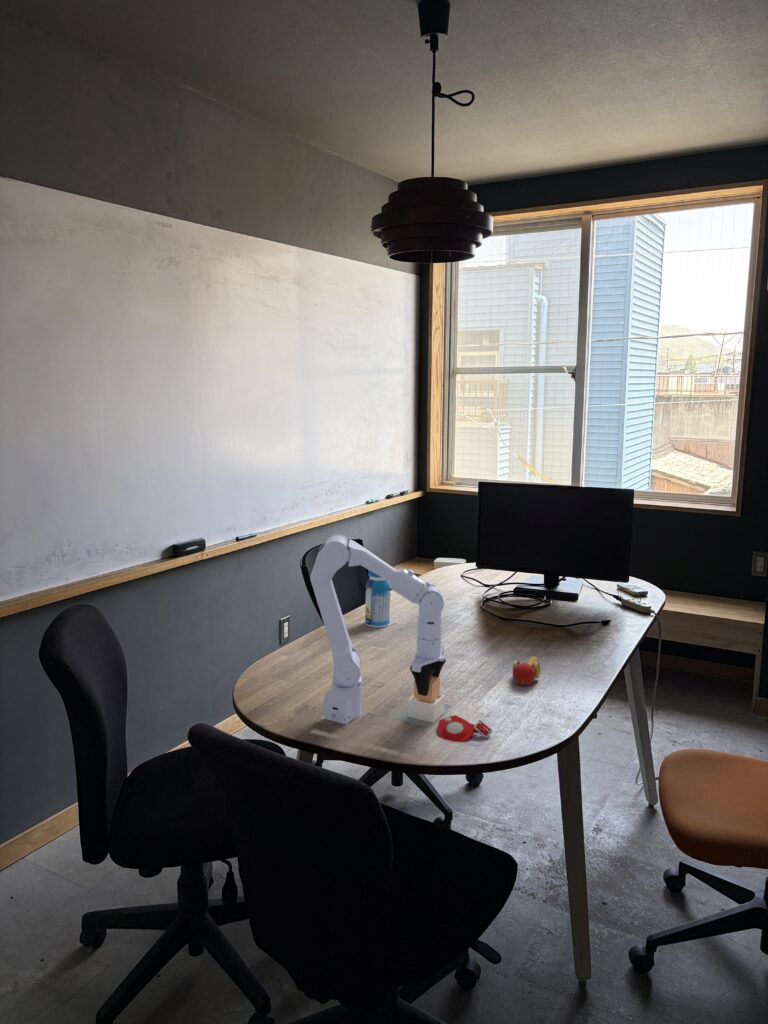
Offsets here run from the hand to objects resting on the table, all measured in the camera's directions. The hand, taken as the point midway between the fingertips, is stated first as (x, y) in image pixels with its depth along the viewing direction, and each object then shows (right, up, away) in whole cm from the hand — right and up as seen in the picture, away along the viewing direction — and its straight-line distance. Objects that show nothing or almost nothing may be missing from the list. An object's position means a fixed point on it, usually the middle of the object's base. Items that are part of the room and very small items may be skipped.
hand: (427, 690), depth 182 cm
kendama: (+30, -3, +29) cm, 42 cm away
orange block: (0, -1, 0) cm, 2 cm away
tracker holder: (+8, -9, -9) cm, 15 cm away
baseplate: (-1, -6, +2) cm, 7 cm away
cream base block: (0, -6, +1) cm, 6 cm away
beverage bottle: (-13, +5, +72) cm, 73 cm away
